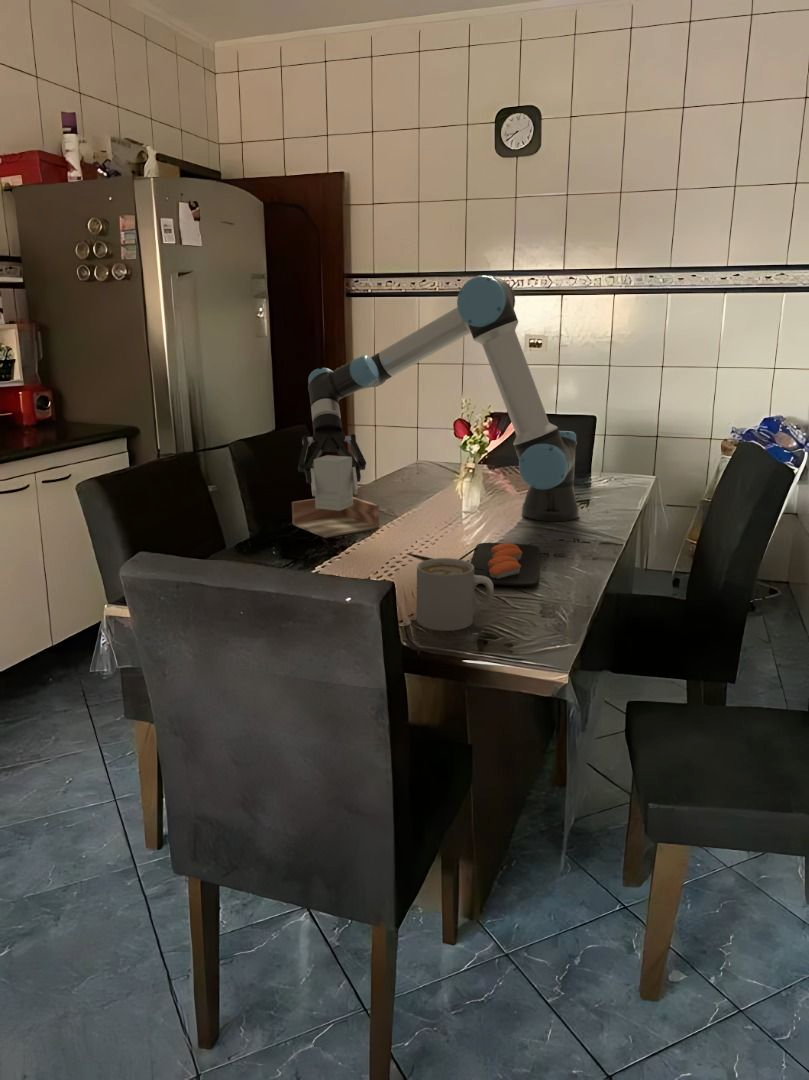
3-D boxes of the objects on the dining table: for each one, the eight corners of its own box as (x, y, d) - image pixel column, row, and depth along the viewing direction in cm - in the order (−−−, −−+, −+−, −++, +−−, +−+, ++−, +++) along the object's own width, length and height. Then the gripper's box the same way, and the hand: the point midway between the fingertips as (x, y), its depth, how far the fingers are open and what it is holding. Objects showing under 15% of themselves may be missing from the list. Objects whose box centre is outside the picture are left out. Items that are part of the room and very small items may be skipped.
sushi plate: (538, 593, 157) (539, 575, 156) (388, 585, 162) (388, 567, 161) (539, 552, 185) (540, 536, 184) (411, 546, 190) (411, 530, 188)
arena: (378, 528, 204) (378, 505, 202) (324, 537, 195) (324, 513, 193) (344, 515, 216) (344, 494, 214) (292, 524, 207) (291, 501, 205)
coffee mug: (411, 628, 138) (411, 572, 136) (422, 608, 148) (423, 556, 145) (488, 634, 135) (490, 578, 133) (495, 614, 145) (497, 561, 142)
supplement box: (354, 505, 205) (353, 456, 202) (339, 511, 198) (338, 461, 195) (328, 502, 208) (327, 454, 205) (314, 508, 201) (312, 458, 198)
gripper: (367, 428, 215) (378, 498, 204) (283, 430, 211) (289, 502, 200) (370, 410, 209) (381, 482, 198) (283, 412, 204) (290, 485, 194)
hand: (335, 492), depth 199 cm, fingers closed on supplement box, 10 cm apart
